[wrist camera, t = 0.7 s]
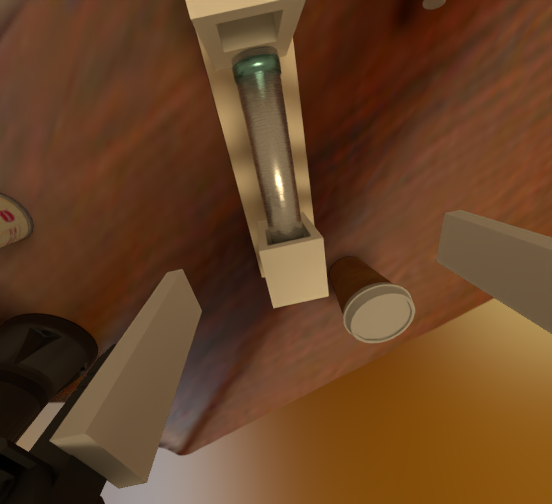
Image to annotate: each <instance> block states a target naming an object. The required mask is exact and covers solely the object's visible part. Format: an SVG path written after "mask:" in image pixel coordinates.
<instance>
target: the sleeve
mask: <svg viewBox="0 0 552 504" xmlns="http://www.w3.org/2000/svg"><path fill="white" fill-rule="evenodd" d="M300 214H301V221H302V228H303V235H304V238H301V239H297V240H292V241H287V242H283V243H278V244H274V245H272V242H271V237H270V233H269V228H268V224H267V219H265V220H261V221H257V225H258V245H259V254H260V258H261V262H262V266H263V270H264V274H265V277H266V281H267V285H268V289H269V293H270V297H271V301H272V304H273V308H276V307H281V306H286V305H290V304H295V303H300V302H304V301H309V300H313V299H318V298H323V297H327V296H329V293H328V283H327V272H326V262H325V252H324V241H323V237H322V236H321V234H320V233H319V232H318V230H317V229H316V228H315V227H314V225H313V224H312V223H311V221H310V220H309V219H308V218H307V216H306V215H305V214H304V212H303V211H302V212H300Z"/></svg>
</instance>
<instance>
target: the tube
mask: <svg viewBox="0 0 552 504" xmlns="http://www.w3.org/2000/svg"><path fill="white" fill-rule="evenodd" d="M231 62H232V72H233V76H234V81H235V84H236V85H237V89H238V94H239V98H240V103H241V107H242V112H243V116H244V120H245V125H246V129H247V134H248V138H249V143H250V147H251V152H252V156H253V161H254V165H255V170H256V174H257V179H258V183H259V188H260V192H261V197H262V201H263V206H264V210H265V215H266V219H267V224H268V228H269V233H270V237H271V242H272V245H274V244H278V243H283V242H287V241H292V240H297V239H301V238H304V235H303V228H302V221H301V214H300V207H299V200H298V193H297V186H296V179H295V172H294V165H293V158H292V151H291V144H290V137H289V130H288V123H287V116H286V109H285V102H284V95H283V88H282V81H281V66H280V59H279V56H278V53H277V49H276V48H274V47H272V46H258V47H253V48H249V49H246V50H244V51H242V52H240V53H238V54H236V55H235V56H234V57H233V58H232V61H231Z"/></svg>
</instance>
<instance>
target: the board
mask: <svg viewBox="0 0 552 504" xmlns="http://www.w3.org/2000/svg"><path fill="white" fill-rule="evenodd" d="M196 33H197V31H196ZM197 37H198V40H199V44H200V48H201V52H202V55H203V59H204V63H205V67H206V70H207V74H208V78H209V81H210V85H211V89H212V93H213V96H214V100H215V104H216V108H217V111H218V115H219V119H220V122H221V126H222V130H223V134H224V137H225V141H226V145H227V149H228V152H229V156H230V160H231V163H232V167H233V171H234V175H235V178H236V182H237V186H238V190H239V193H240V197H241V201H242V204H243V208H244V212H245V216H246V219H247V223H248V227H249V231H250V234H251V238H252V242H253V245H254V249H255V253H256V257H257V260H258V264H259V268H260V272H261V275H262V277H265V274H264V270H263V266H262V262H261V258H260V254H259V245H258V225H257V221H261V220H265V219H266V215H265V210H264V206H263V201H262V197H261V192H260V188H259V183H258V179H257V174H256V170H255V165H254V161H253V156H252V152H251V147H250V143H249V138H248V134H247V129H246V125H245V120H244V116H243V112H242V107H241V103H240V98H239V94H238V89H237V85H236V84H235V81H234V76H233V72H232V68H228V69H224V70H219V71H216V70H215V68H214V66H213V64H212V62H211V60H210V58H209V56H208V54H207V52H206V50H205V48H204V46H203V44H202V42H201V40H200V38H199V36H198V33H197ZM279 59H280V66H281V81H282V88H283V95H284V102H285V109H286V116H287V123H288V130H289V137H290V144H291V151H292V158H293V165H294V172H295V179H296V186H297V193H298V200H299V207H300V212H302V211H303V212H304V214H305V215H306V216H307V218H308V219H309V220H310V221H311V223H312V224H313V225H314V218H313V209H312V201H311V192H310V183H309V175H308V166H307V157H306V148H305V140H304V131H303V122H302V114H301V105H300V96H299V87H298V79H297V70H296V61H295V52H294V44H293V37H292V40H291V43H290V46H289V49H288V52H287V54H286V56H284V57H279Z"/></svg>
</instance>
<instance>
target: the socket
mask: <svg viewBox="0 0 552 504" xmlns="http://www.w3.org/2000/svg"><path fill="white" fill-rule="evenodd" d="M185 1H186V4H187V8H188V12H189V15H190V19H191V21H192V23H193V25H194V27H195V29H196V31H197V33H198V36H199V38H200V40H201V42H202V44H203V46H204V48H205V50H206V52H207V54H208V56H209V58H210V60H211V62H212V64H213V66H214V68H215V70H216V71H219V70H224V69H228V68H232V62H231V61H232V58H233V57H234V56H235V55H236V54H238V53H240V52H242V51H244V50H246V49H249V48H253V47H258V46H272V47H274V48H276V49H277V53H278V56H279V57H284V56H286V54H287V52H288V49H289V46H290V43H291V40H292V37H293V35H294V32H295V29H296V26H297V23H298V20H299V17H300V15H301V12H302V9H303V6H304V3H305V0H185Z"/></svg>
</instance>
